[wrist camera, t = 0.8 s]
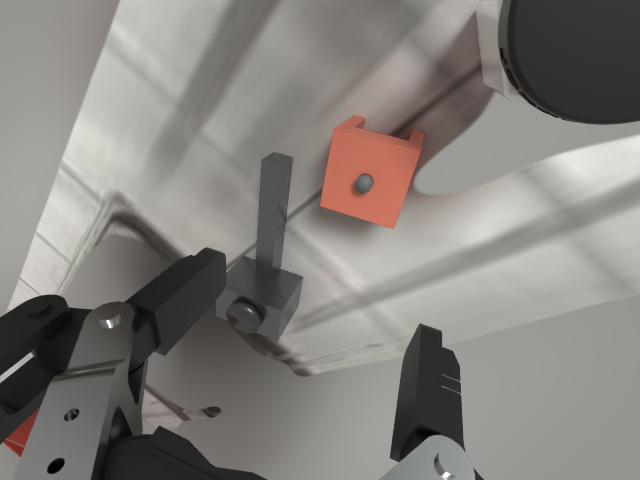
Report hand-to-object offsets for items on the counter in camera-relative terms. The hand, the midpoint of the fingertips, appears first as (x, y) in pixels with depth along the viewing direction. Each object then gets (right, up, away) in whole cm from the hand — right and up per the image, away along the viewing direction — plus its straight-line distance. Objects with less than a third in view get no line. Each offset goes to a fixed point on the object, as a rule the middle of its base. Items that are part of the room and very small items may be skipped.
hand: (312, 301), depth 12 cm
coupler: (-5, +3, +23) cm, 24 cm away
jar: (+15, +16, +7) cm, 23 cm away
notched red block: (+5, +10, +15) cm, 18 cm away
